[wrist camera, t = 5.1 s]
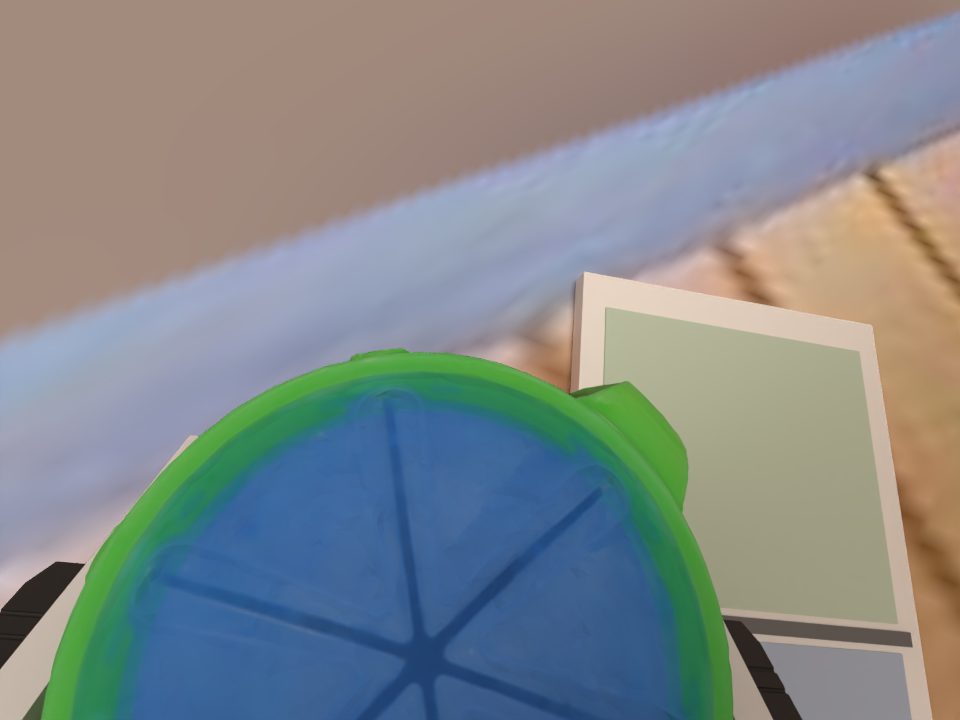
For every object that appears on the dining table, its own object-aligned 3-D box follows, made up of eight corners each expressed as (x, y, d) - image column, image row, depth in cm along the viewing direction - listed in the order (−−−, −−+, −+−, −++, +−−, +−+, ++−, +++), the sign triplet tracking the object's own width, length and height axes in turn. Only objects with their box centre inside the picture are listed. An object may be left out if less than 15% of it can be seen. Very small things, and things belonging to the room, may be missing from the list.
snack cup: (267, 933, 14) (-16, 1912, 4) (101, 597, 15) (-376, 731, 6) (654, 576, 18) (938, 638, 9) (498, 352, 20) (596, 204, 11)
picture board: (852, 332, 23) (874, 324, 22) (952, 1047, 16) (992, 1086, 15) (575, 281, 22) (585, 270, 21) (535, 1063, 14) (547, 1109, 13)
